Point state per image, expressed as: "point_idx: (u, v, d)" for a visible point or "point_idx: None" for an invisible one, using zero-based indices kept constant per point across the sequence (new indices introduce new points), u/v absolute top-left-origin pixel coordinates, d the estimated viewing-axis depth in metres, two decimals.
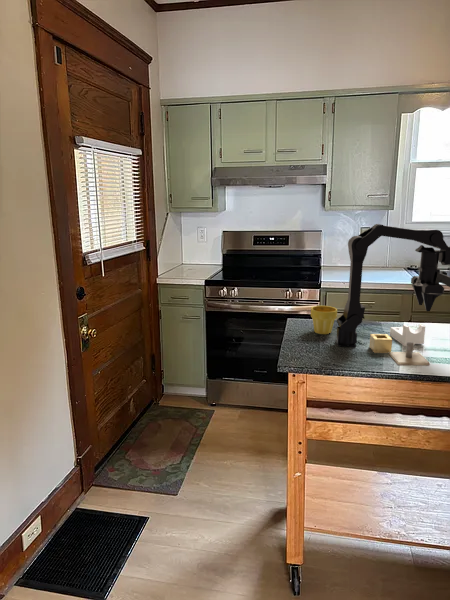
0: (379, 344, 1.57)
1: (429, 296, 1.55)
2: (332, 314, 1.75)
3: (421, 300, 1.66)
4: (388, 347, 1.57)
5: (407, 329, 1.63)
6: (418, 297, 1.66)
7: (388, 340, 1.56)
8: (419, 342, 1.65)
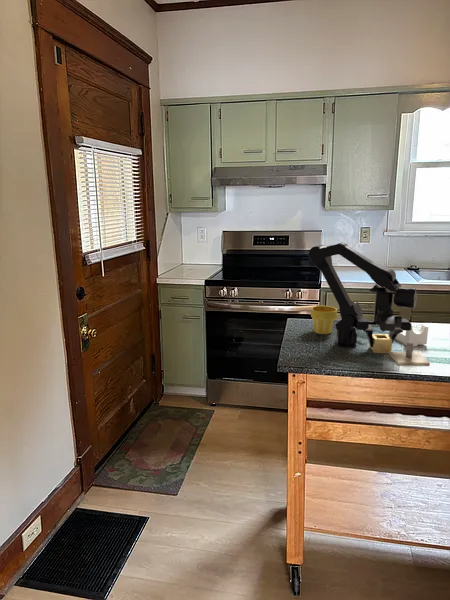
0: (379, 344, 1.57)
1: None
2: (332, 314, 1.75)
3: None
4: (388, 347, 1.57)
5: (410, 330, 1.63)
6: None
7: (388, 340, 1.56)
8: (422, 342, 1.64)
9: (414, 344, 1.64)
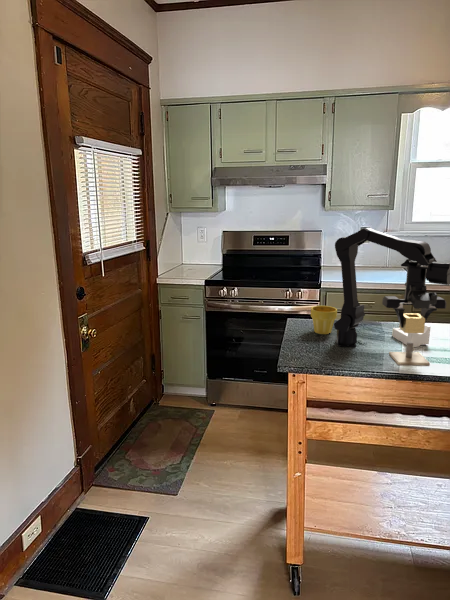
0: (411, 323, 1.45)
1: None
2: (332, 314, 1.75)
3: None
4: (421, 326, 1.45)
5: None
6: None
7: (421, 319, 1.45)
8: (424, 343, 1.64)
9: (416, 344, 1.64)
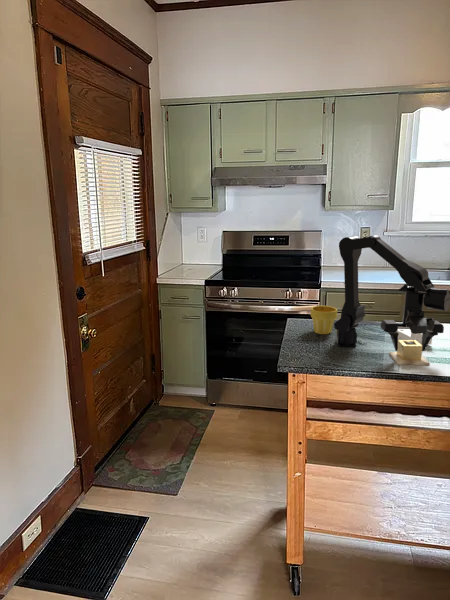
0: (408, 351, 1.48)
1: None
2: (332, 314, 1.75)
3: (422, 346, 1.50)
4: (418, 354, 1.48)
5: None
6: (422, 342, 1.51)
7: (418, 347, 1.47)
8: None
9: None
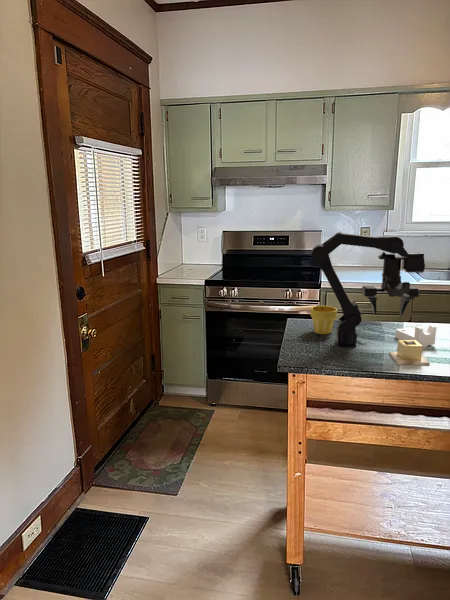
0: (408, 351, 1.48)
1: None
2: (332, 314, 1.75)
3: (401, 310, 1.61)
4: (418, 354, 1.48)
5: (421, 331, 1.61)
6: (400, 306, 1.61)
7: (418, 347, 1.47)
8: (431, 343, 1.64)
9: (423, 345, 1.63)
